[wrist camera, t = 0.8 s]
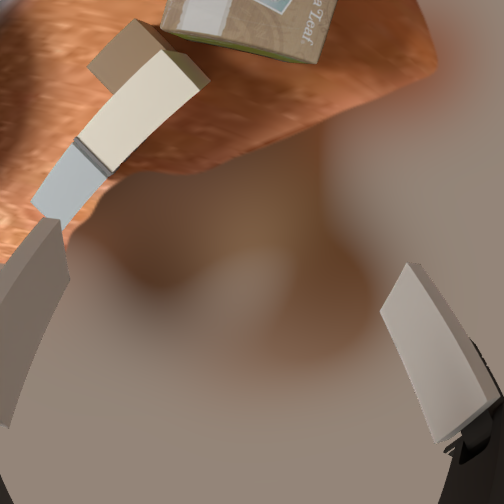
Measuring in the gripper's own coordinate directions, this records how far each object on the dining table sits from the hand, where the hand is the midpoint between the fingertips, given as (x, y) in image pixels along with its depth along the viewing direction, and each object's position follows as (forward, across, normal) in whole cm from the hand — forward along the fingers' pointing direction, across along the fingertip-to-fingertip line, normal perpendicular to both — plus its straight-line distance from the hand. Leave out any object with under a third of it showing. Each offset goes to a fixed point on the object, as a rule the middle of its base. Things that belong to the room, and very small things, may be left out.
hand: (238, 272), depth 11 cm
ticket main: (+25, -9, +4) cm, 27 cm away
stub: (+25, -13, -4) cm, 28 cm away
